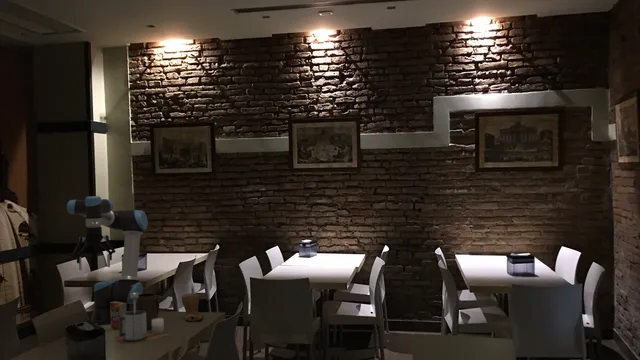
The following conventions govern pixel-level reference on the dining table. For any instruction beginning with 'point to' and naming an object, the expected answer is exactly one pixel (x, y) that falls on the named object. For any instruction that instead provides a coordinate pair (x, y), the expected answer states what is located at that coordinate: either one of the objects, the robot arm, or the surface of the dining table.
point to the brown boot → (191, 307)
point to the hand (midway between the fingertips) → (94, 268)
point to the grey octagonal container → (133, 326)
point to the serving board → (149, 337)
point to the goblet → (134, 299)
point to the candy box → (117, 313)
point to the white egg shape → (157, 326)
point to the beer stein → (148, 307)
